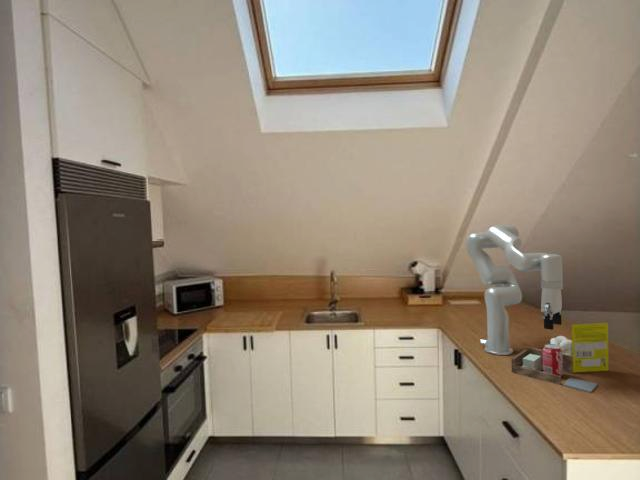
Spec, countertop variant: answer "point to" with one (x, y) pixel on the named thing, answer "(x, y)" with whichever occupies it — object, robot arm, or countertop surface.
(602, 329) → the food package
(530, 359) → the offcut upper
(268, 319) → the countertop surface
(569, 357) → the frame
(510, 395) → the countertop surface
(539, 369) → the offcut lower
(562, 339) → the white decorative knot
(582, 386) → the slate mat
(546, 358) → the soda can
